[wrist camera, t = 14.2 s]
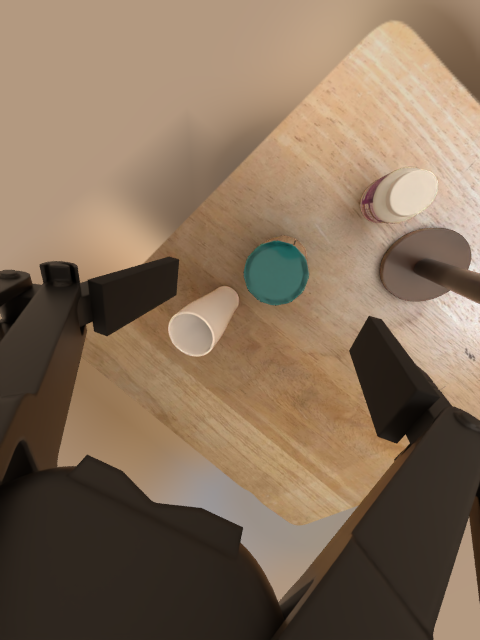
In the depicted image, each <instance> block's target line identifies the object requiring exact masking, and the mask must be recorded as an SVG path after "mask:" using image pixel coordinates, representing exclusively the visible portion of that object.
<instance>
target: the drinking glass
mask: <svg viewBox="0 0 480 640" xmlns="http://www.w3.org/2000/svg"><path fill="white" fill-rule="evenodd" d="M238 305H239V297H238V294H237V293H236V291H235V290H234V289H232V288H231V287H228V286H221V287H218V288H217V289H215V290H214V291H212V292H210V293H208V294H206V295H205V296H203V297H201V298H199V299H197V300H195V301H193V302H191V303H190V304H188V305H186V306H185V307H184V308H182V309H181V310H180V311H179V312H177V313H176V314H175V315H174V316H173V317H172V318H171V320H170V322H169V326H168V332H169V336H170V339H171V341H172V342H173V344H174V345H175V346H176V347H177V348H178V349H179V350H180V351H182V352H183V353H185V354H187V355H190V356H203V355H206V354H207V353H209V352H210V351H211V350H212V348H213V347H214V346H215V345H216V344H217V342H218V341H219V340H220V338H221V337H222V335H223V333H224V331H225V330H226V328H227V326H228V324H229V322H230V320H231V318H232V316H233V314H234V312H235V310H236V309H237V307H238Z"/></svg>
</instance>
